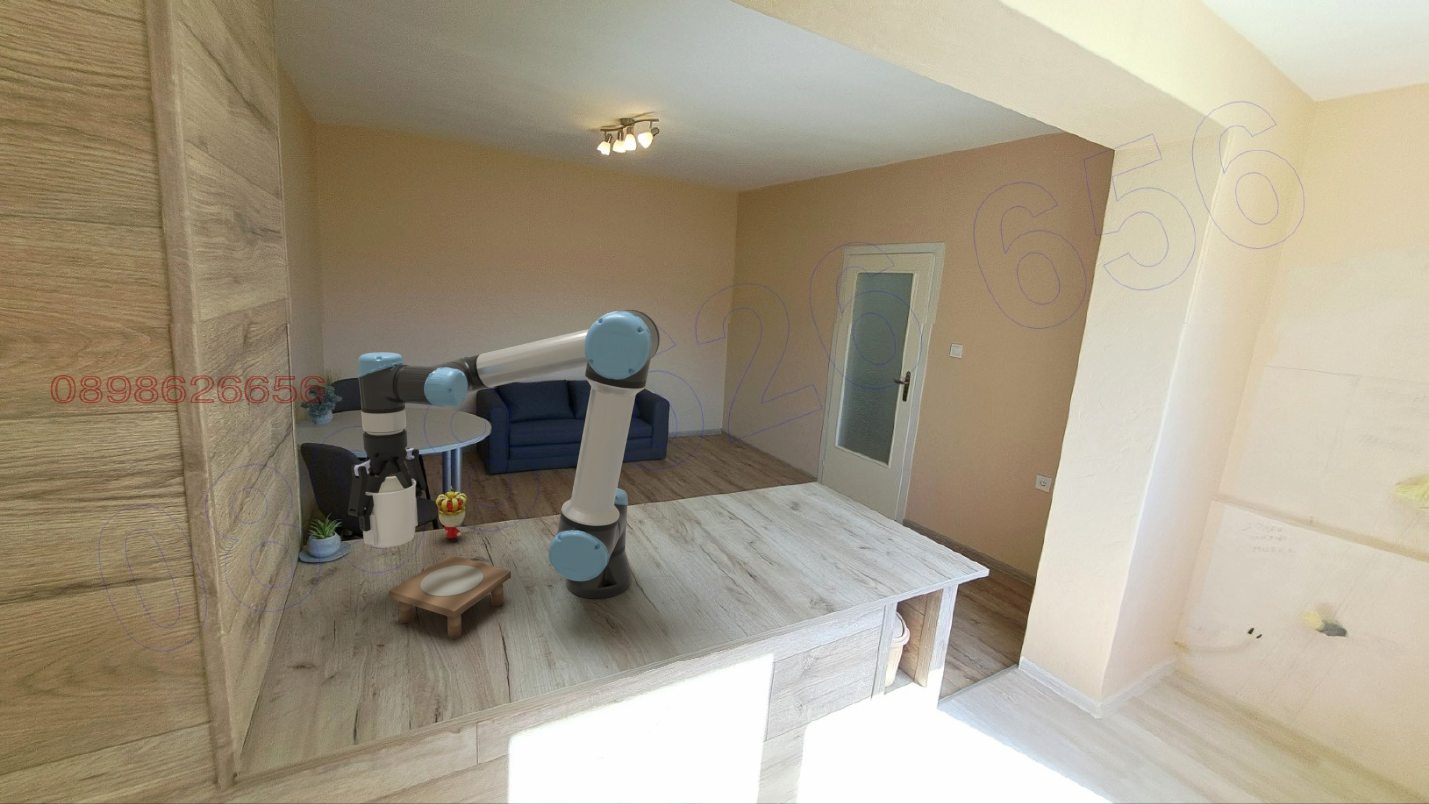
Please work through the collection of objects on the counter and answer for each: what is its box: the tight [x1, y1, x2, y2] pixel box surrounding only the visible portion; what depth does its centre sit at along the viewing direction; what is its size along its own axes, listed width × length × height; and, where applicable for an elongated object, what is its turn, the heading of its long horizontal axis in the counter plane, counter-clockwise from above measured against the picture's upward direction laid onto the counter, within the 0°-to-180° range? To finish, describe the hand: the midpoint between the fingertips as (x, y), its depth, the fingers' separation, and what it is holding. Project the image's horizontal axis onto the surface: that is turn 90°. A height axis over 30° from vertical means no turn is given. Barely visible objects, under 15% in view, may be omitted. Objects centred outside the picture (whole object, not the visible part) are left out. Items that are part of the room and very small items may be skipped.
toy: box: [435, 485, 468, 543], centre depth 140 cm, size 7×7×15 cm
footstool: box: [388, 554, 512, 640], centre depth 112 cm, size 16×16×7 cm
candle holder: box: [365, 476, 416, 549], centre depth 112 cm, size 10×10×12 cm
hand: (391, 534), depth 113 cm, fingers closed on candle holder, 9 cm apart
